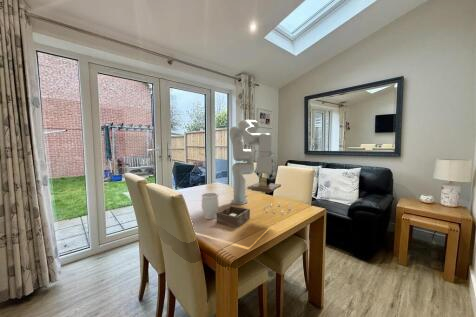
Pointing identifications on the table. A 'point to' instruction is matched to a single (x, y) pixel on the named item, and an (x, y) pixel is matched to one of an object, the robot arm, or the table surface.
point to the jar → (210, 205)
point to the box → (227, 219)
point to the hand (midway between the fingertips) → (264, 184)
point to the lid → (264, 186)
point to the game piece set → (279, 205)
